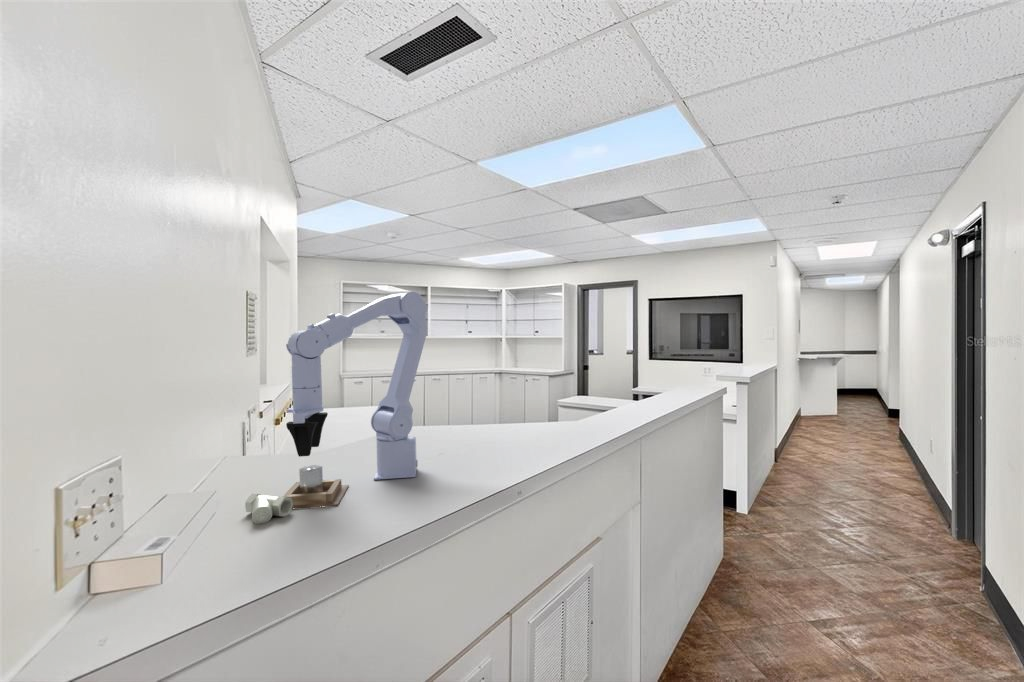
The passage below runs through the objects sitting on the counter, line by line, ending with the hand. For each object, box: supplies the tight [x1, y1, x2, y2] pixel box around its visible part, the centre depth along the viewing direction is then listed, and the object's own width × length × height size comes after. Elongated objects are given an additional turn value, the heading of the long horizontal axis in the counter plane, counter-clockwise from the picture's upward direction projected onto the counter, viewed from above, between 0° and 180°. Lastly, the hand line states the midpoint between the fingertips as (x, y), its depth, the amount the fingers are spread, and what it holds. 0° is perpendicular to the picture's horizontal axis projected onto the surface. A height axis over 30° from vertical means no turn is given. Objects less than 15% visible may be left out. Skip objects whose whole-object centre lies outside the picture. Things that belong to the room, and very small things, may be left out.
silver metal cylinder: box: [298, 464, 324, 494], centre depth 98 cm, size 4×4×6 cm
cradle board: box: [282, 478, 350, 509], centre depth 98 cm, size 12×12×3 cm
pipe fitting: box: [244, 493, 293, 525], centre depth 88 cm, size 8×4×7 cm
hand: (309, 451), depth 99 cm, fingers open, 7 cm apart
